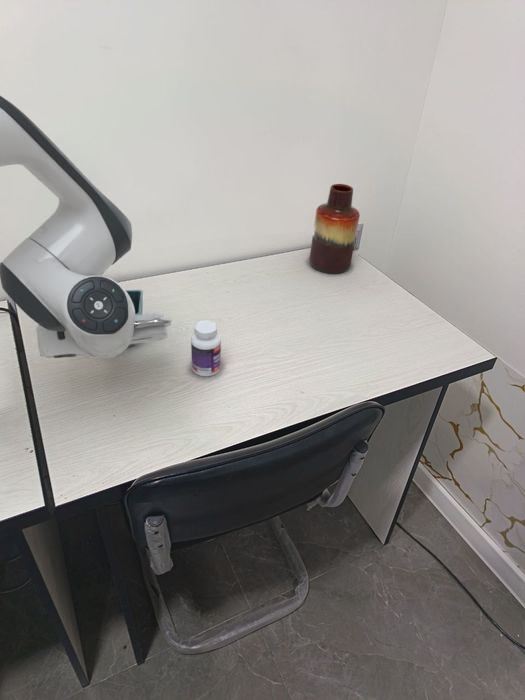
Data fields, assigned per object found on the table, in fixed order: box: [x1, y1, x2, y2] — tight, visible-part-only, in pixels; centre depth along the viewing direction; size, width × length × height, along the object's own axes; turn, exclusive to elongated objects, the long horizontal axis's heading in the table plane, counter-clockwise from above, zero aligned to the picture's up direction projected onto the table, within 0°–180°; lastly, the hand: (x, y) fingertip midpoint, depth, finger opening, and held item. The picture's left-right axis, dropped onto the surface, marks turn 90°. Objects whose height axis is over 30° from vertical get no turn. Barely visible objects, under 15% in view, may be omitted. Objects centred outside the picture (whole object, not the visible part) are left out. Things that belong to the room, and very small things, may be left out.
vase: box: [308, 183, 361, 275], centre depth 124 cm, size 11×11×20 cm
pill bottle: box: [190, 319, 222, 377], centre depth 91 cm, size 5×5×10 cm
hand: (106, 341), depth 87 cm, fingers closed
